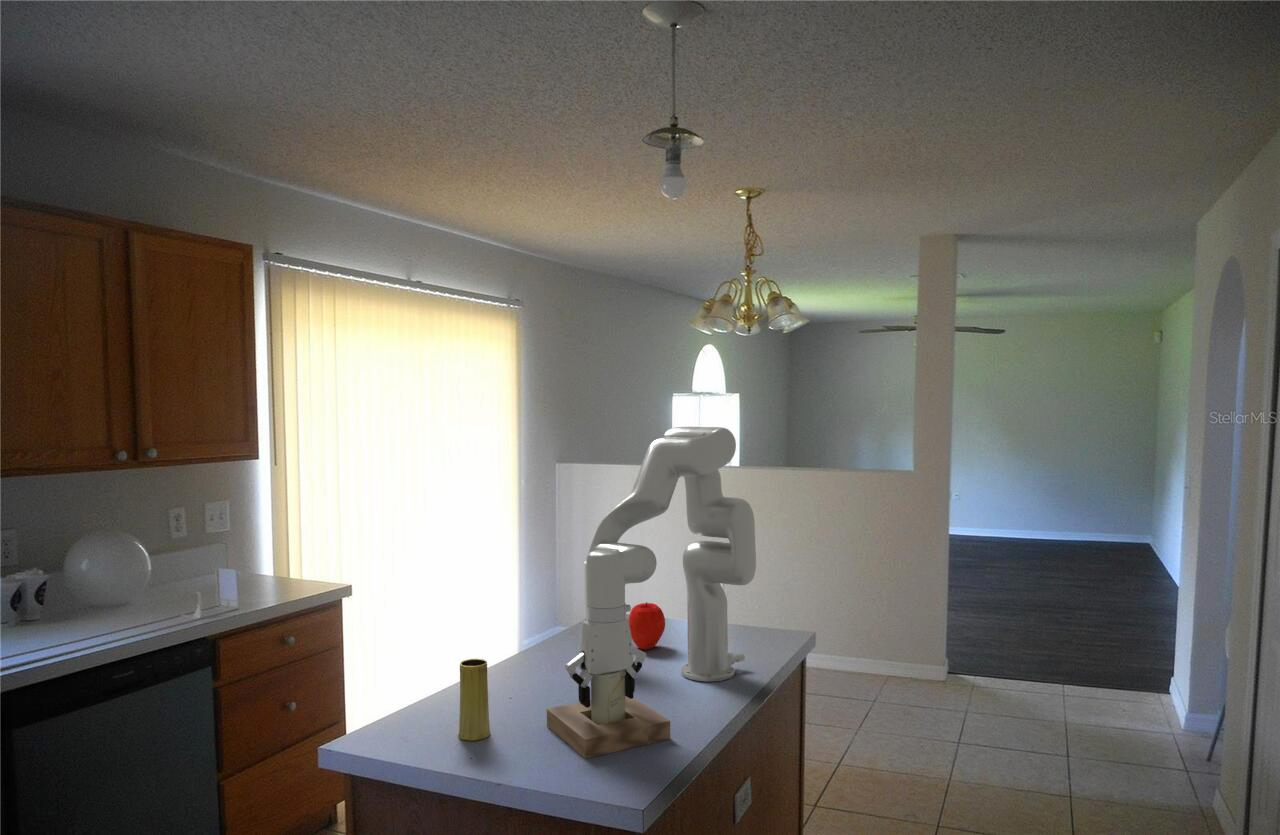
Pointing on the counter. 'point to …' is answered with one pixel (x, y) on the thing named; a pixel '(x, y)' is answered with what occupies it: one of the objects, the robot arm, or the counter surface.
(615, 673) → the skincare box
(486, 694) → the vase
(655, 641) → the apple
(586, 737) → the docking block
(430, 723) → the counter surface
